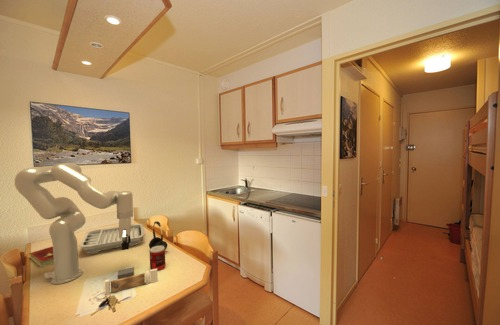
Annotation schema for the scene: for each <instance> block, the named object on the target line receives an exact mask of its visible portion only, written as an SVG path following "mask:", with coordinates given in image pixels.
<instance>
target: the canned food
mask: <svg viewBox="0 0 500 325" xmlns="http://www.w3.org/2000/svg"><path fill="white" fill-rule="evenodd" d="M149 268H150V270H152V269H157V272H159V271H162V270H164V269H165V268H166V250H165V247H164V246H155V247H152V248H151V249H150V248H149Z"/></svg>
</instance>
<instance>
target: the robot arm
mask: <svg viewBox="0 0 500 325" xmlns="http://www.w3.org/2000/svg"><path fill="white" fill-rule="evenodd" d="M56 181H59V182H60V183H62V184H63V185H66V186H67V187H69V188H71V189H73V190H74V191H76V192H77V195H79V197H80V198H81V199H82V200H83V201H84V202H85V203H87V204H88V205H89V206H92V207H95V208H97V209H100V210H104V209H108V208H109V207H112V206H115V205H116V219H118V227H119V238H121V237H122V247H121V250H122V251H126V250H129V249H130V246H129V243H130V242H131V240H130V232H131V225H132V218H133V217H134V207H133V206H134V204H133V203H134V202H133V192H132V191H130V190H127V191H126V190H122V191H116V190H109V191H106V192H103V193H102V192H100V191H99V190H97V189H96V188H94V187H93V186H92V184H91V182H92V179H91V178H90V176H88V175H86V174H84V173H82V167H81V166H80V165H78V164H77V163H74V162H66V163H64V162H63V163H57V164H54V165H46V166H33V167H28V168H24V169H22V170H20V171H18V173H17V174H16V175H15V177H14V186H15V189H16V190H17V192H18V193H19V194H20V195H21V196H22V197H23V198H24V199H25V200H26V201H28V203H29V204H30V205H31V206H32V208H33V209H34V210H35V211H36V213H37V214H38V215H39V216H40V217H41V218H42V219H43V220H53V219H55V220H54V221H53V222H51V224H50V226H49V229H48V230H49V231H48V232H49V235H50V236H49V237H50V238H51V243H52V246H53V255H54V263H53V267H54V268H53V269H54V270H53V271H49V272H44V274H43V277H44V279H46V280H47V279H50V278H51V279H50V283H51V284H53V285H61V284H65V283H69V282H71V281H74V280H76V279H78V278H80V277H81V276H82V275H83V273H84V271H83V269H82V268H80V265H79V250H78V249H79V248H78V247H79V244H78V239H77V236H76V234H75V232H77V231H78V230H80V229H81V228H82V227H84V225H85V224H86V217H85V215H84V213H83V212H82V211H81V210H80V209H79V207H78V206H77V205H76V203H74V201H73V199H70V198H68V197H65V196H64V197H63V196H59V197H54V196H53V194H52V193H51V192H50V191H49V190H48V189H47V188H45V187H44V186H43V185H41V184H45V183H49V182H50V183H51V182H56ZM58 217H59V218H58ZM56 218H57V219H56Z"/></svg>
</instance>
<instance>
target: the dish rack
mask: <svg viewBox="0 0 500 325" xmlns="http://www.w3.org/2000/svg"><path fill="white" fill-rule="evenodd" d="M143 236H145V230H144V225H143V224H142V223H134V224H132V223H131V232H130V240H131V242H130V243H129V247H133V246H137V244H139V243H141V242H142V241H143V238H142V237H143ZM78 247H79V248H82V252H83V253H88V254H89V255H93V254H98V253H99V252H100V251H105V250H110V249H115V248H120V247H121V248H122V237H121V238H119V226H114V227H108V228H100V229H99V228H97V229H93V230H89V231H87V232H85V233H84V235H83V237H82V239H81V240H80V242H79V244H78Z"/></svg>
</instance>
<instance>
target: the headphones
mask: <svg viewBox="0 0 500 325" xmlns="http://www.w3.org/2000/svg"><path fill="white" fill-rule="evenodd" d="M155 225H157V226H158V227H159V229H160V233H161V234H160V237H159V236H157V237H156V230H155ZM152 235H153V238H152V239H151V240H150V241H149V243H148V246H149V250H150V249H151V248H152V247H155V246H164V247H165V251H166V250H167V249H168V244H167V241H165V240H164V237H163V236H164V235H163V229H162V226H161V223H160V221H154V223H153V226H152Z"/></svg>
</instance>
